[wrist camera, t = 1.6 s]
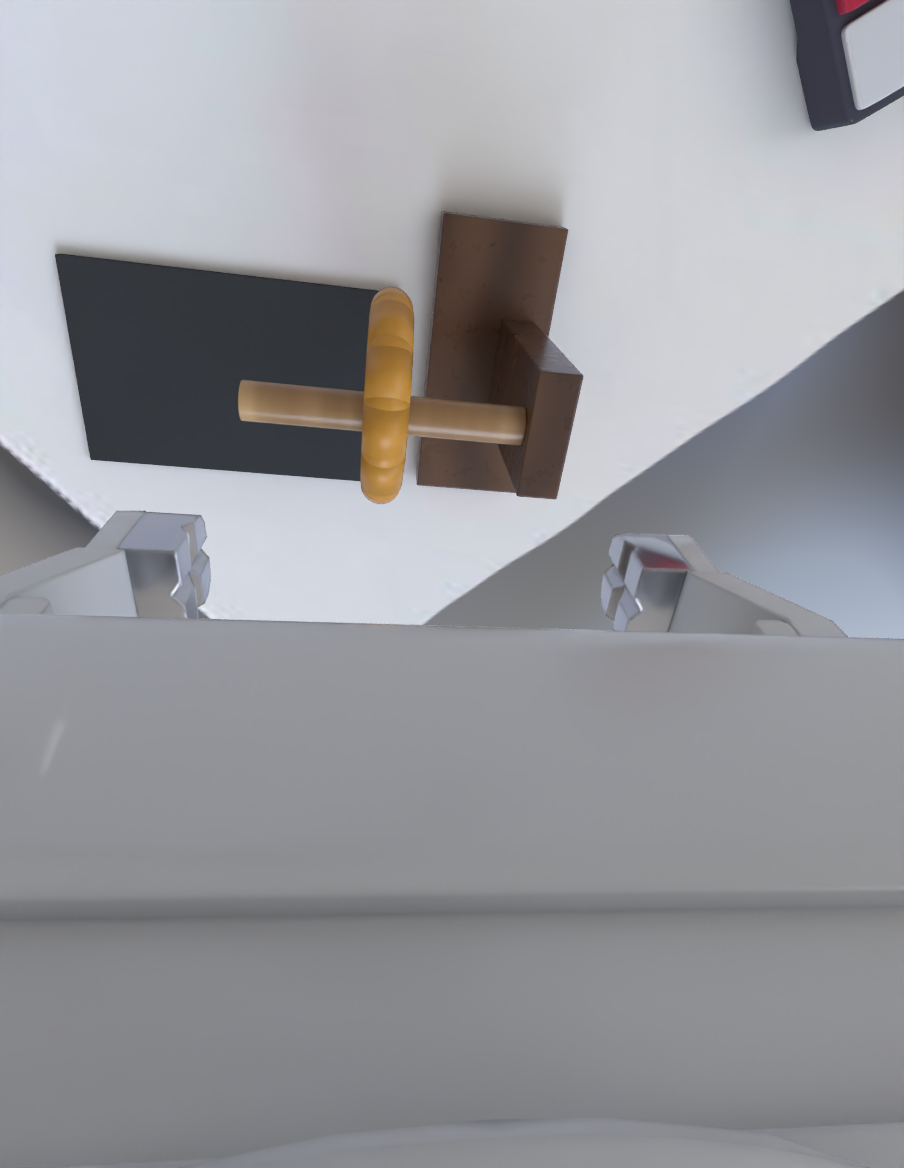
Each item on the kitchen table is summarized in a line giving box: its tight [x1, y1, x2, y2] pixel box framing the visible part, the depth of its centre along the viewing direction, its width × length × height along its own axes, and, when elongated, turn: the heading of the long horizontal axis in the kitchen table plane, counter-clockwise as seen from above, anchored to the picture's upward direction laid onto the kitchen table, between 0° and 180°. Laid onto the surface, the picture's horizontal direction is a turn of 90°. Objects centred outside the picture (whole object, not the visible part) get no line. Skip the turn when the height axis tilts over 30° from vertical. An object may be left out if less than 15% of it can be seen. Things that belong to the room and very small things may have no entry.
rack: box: [238, 211, 583, 499], centre depth 36 cm, size 16×16×14 cm
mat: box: [55, 254, 379, 481], centre depth 41 cm, size 19×12×1 cm, turn 83°
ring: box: [360, 287, 414, 504], centre depth 33 cm, size 10×2×10 cm, turn 173°
